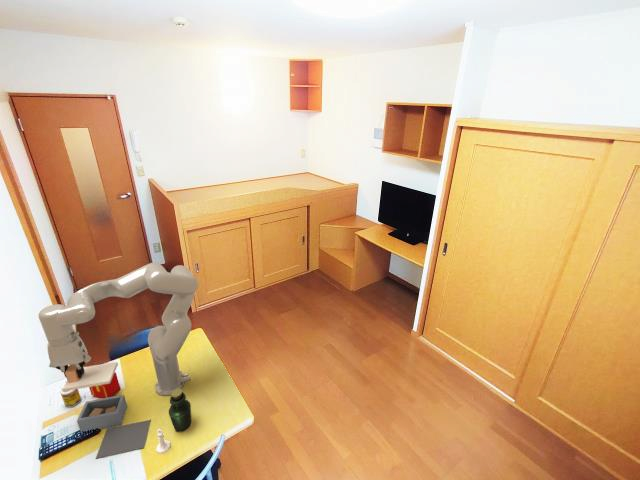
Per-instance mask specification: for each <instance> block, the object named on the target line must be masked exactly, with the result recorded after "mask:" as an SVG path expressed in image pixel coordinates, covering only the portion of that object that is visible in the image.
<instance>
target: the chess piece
mask: <svg viewBox="0 0 640 480" xmlns="http://www.w3.org/2000/svg"><path fill="white" fill-rule="evenodd" d="M156 432H157V434H156V436H158V437H157V440H158V441H159V443H158V444H157V446H156V449H155V450H156V453H157V454H158V455H163V454H165V453H167V452H168V451H169V450H170V448H171V442H170V441H169V440H168V439H167V440H166V439H165V435H164V431H163V429H160V428H158V430H156ZM164 439H165V440H164Z"/></svg>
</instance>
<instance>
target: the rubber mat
mask: <svg viewBox="0 0 640 480" xmlns="http://www.w3.org/2000/svg"><path fill="white" fill-rule="evenodd" d="M151 422H152V420H151V419H146V420H143V421H137V422H132V423H127V424H122V425H120V426H115V427H110V428H106V429H105V432H104V435H103V437H102V440H101V444H100V446H99V449H98V451H97V453H96V456H95V460H97V459H101V458H107V457H111V456H115V455H119V454H120V455H122V454H124V453H129V452H133V451H138V450H142V449H145V446H146V442H147V439H148V433H149V429H150V425H151Z"/></svg>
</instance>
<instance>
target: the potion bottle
mask: <svg viewBox="0 0 640 480" xmlns="http://www.w3.org/2000/svg"><path fill="white" fill-rule="evenodd" d="M186 398H187V396H186V394H185V392H183V390H182V388H181V389H175V390H174V391H173V392H172V393H171V395H170V398H169V403H170V406H169V409H168V415H169V418H170V420H171V421H170V422H171V424H172V425H173V429H174V431H175V432H178V433H182V432H185V431H187V430H188V429H189V428H190V427H191V425H192V406H191V402H190V401H189V400H187V399H186Z"/></svg>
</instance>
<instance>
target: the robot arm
mask: <svg viewBox="0 0 640 480" xmlns="http://www.w3.org/2000/svg"><path fill="white" fill-rule="evenodd" d="M147 289H149V290H151V291H152V292H155V293H159V294H164V295H165V294H167V295H172V297H171V299H170V300H169V303H168V304H167V306H166V307H165V309H164V311H163V314H162V315H161V321H162V324H163V325H157V326H155V327H153V328H152V329H151V330H150V331H149V333H148V335H147V343H148V347H149V350H150V353H151V357H152V362H153V367H154V371H155V375H156V380H157V381H156V383H155V386H154V390H155V392H156V394H158V395H159V396H164V397H165V396H166V397H167V396H172V395H171V393H172V392H173V391H174V390H175V389H181V390H182V388H183V387H184V385H185V382H190V381H192V377H191V376H190V375H189V373H185V374H184V373H183V372H182V370H180V366H179V360H178V355H179V352H180V351H181V349H182V348H183V346H184V344H185V342H186V341H187V338H188V337H189V335H190V333H191V329H192V321H191V319H190V317H189V316H188V311H189V309H190V307H191V305H192V303H193V301H194V298H195V296H196V295H195V294H196V292H197V290H198V289H199V280H198V279H197V277H195V275H194V274H193V273H192V271H190V269H188V267H186V266H184V265H182V264H180V265H179V264H178V265H175V266H174V267H173V268H171V271H170V272H169V271H167V269H166V268H165V267H164V266H163V265H161V264H160V263H158V262H150V263H148V264H146V265H143V266H141V267H139V268H137V269H135V270H133V271H131V272H129V273H127V274H125V275H122V276H120V277H118V278H115V279H108V280H102V281H99V282H94V283H93V284H92V283H91V284H89V285H88V286H84V287H83V288H81V289H79V290H77V291H75V292H74V293H72V294H71V295H70V296H69V298H68V299H67V302H66V305H67V306H65V305H64V304H59V303H58V304H52V305H47V306H46V307H44V308H43V309H41V310H40V311H39V312H38V319H39V322H40V324H41V327H42V329H43V332H44V335H45V337H46V340H47V342H48V343H47V354H48V359H49V361H50V362H49V365H48V367H49V368H53V369H57V370H59V371H60V372H61V373H63V375H64V377H65V378H66V379H67V377H66V375H65V372H66V370H67V369H68V367H69V365H71V364H75V366H76V368H77V370H76V372H77V375H78V377H79V378H81V377H82V375H83V374H84V372H85V371H84V368H83V367H84V366H85V364H87V363H89V362H90V361H91V360H92V356H90V355H89V353H88V350H87V348H86V347H87V346H86V345H85V343H84V341H83V340H82V338H81V337H80V336H79V335H80V332H79V331H75V329H74V327H73V326H74V325H80V324H85V323H87V322H90V321H91V320H93V319H94V317H95V315H96V309H95V305H94V304H95V303H97V302H99V301H102V300H103V299H106V298H109V297H110V298H111V297H117V298H124V299H129V298H132V297H134V296H135V295H137V294H139V293H141V292H143V291H145V290H147Z"/></svg>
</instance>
